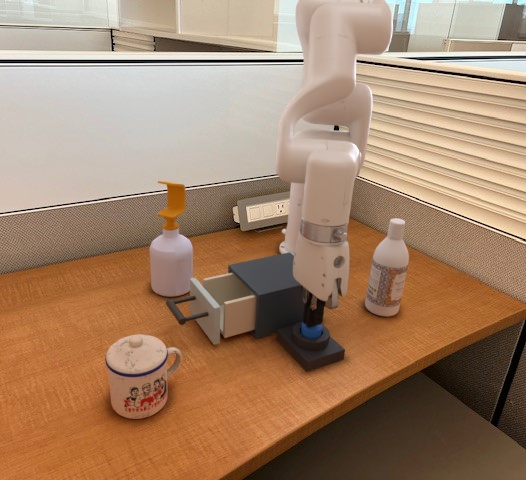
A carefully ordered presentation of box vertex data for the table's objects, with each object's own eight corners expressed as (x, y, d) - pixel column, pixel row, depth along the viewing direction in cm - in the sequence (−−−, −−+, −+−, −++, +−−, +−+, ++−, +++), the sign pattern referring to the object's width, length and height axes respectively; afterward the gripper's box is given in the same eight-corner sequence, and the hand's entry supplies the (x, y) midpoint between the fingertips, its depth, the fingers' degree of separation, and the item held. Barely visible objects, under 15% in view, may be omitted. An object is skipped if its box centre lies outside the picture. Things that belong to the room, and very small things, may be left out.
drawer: (184, 353, 84) (183, 316, 80) (162, 319, 93) (161, 284, 89) (277, 326, 92) (280, 292, 89) (249, 298, 101) (251, 265, 98)
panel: (276, 339, 90) (277, 321, 88) (311, 329, 93) (313, 311, 92) (306, 372, 82) (308, 353, 80) (343, 359, 85) (346, 341, 84)
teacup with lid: (124, 430, 69) (118, 366, 64) (100, 393, 75) (93, 332, 70) (196, 397, 75) (196, 336, 70) (168, 365, 82) (166, 308, 77)
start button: (297, 330, 87) (297, 322, 86) (313, 325, 88) (314, 317, 87) (308, 341, 84) (309, 333, 83) (325, 336, 85) (326, 328, 85)
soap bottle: (143, 292, 103) (137, 183, 93) (165, 273, 111) (161, 171, 101) (180, 301, 100) (178, 190, 90) (199, 282, 108) (200, 177, 98)
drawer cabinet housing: (256, 339, 90) (259, 295, 86) (226, 305, 100) (228, 264, 96) (319, 320, 96) (325, 278, 92) (286, 290, 106) (289, 252, 102)
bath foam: (382, 321, 97) (400, 230, 88) (357, 305, 102) (371, 218, 93) (405, 311, 100) (424, 223, 92) (379, 296, 105) (395, 211, 97)
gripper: (373, 242, 73) (356, 341, 81) (315, 209, 85) (305, 298, 93) (333, 250, 70) (320, 353, 77) (279, 215, 82) (272, 307, 89)
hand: (312, 323), depth 85 cm, fingers closed
